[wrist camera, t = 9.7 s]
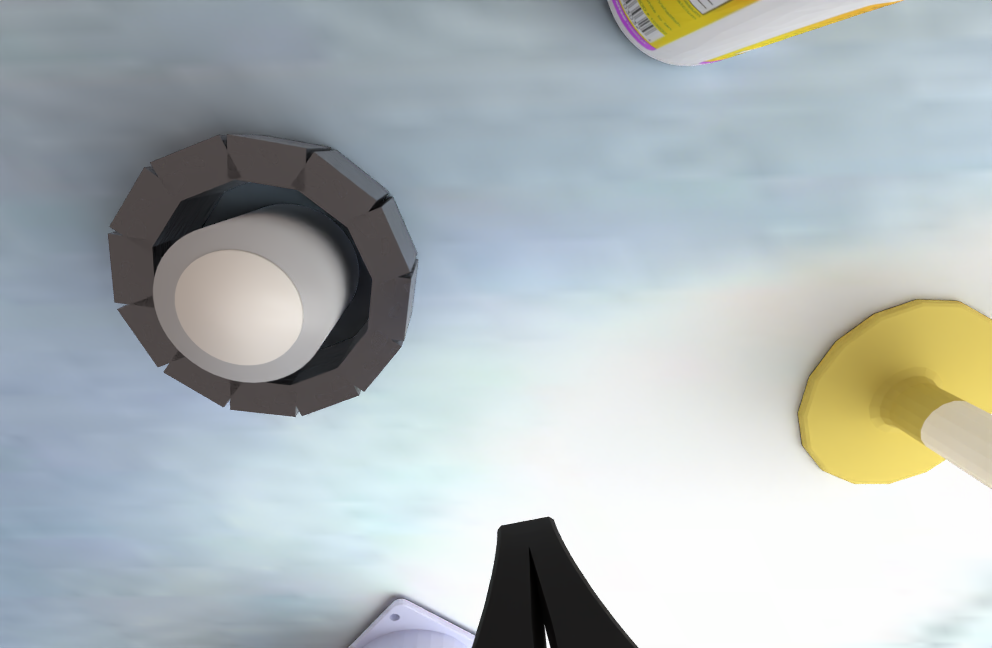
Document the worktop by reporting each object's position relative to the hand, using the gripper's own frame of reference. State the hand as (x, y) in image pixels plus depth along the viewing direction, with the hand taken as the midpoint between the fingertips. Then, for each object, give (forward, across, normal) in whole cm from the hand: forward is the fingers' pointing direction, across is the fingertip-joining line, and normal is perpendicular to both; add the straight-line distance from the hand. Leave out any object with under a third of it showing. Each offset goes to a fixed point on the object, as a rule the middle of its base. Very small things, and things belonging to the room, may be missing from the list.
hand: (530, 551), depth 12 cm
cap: (+10, +7, -6) cm, 14 cm away
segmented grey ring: (+10, +7, -6) cm, 14 cm away
